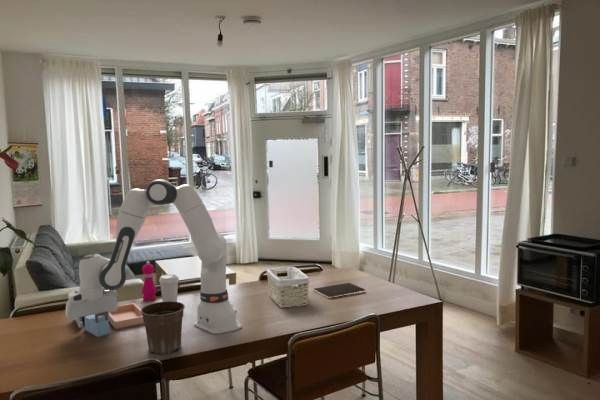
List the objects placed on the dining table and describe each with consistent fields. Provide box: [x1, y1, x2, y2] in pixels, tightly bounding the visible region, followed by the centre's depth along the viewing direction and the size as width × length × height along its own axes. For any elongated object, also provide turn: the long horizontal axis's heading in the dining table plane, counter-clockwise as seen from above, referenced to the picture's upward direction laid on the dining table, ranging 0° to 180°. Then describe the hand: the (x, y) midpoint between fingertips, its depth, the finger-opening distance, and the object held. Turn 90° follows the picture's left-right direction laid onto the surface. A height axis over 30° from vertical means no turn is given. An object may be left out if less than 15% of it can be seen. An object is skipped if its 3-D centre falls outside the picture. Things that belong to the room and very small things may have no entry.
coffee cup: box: [158, 273, 180, 302], centre depth 237 cm, size 10×10×15 cm
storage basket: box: [266, 266, 310, 309], centre depth 244 cm, size 24×16×15 cm
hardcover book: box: [313, 282, 366, 297], centre depth 260 cm, size 16×23×2 cm
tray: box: [103, 302, 145, 330], centre depth 219 cm, size 22×14×4 cm, turn 34°
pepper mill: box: [141, 260, 157, 302], centre depth 248 cm, size 7×7×20 cm
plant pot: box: [140, 301, 186, 355], centre depth 186 cm, size 16×16×16 cm
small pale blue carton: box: [84, 311, 110, 338], centre depth 204 cm, size 12×5×10 cm, turn 47°
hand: (92, 324), depth 205 cm, fingers open, 8 cm apart
